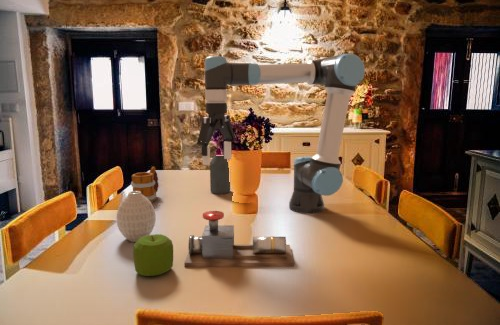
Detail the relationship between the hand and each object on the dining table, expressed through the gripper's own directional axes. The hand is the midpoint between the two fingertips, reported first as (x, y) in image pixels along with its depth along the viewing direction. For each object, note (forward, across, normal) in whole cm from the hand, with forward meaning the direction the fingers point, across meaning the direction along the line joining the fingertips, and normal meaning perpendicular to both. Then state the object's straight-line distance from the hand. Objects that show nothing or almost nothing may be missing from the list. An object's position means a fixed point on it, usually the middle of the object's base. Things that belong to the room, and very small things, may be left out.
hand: (217, 161), depth 132 cm
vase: (+25, +22, -19) cm, 39 cm away
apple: (+25, +37, +3) cm, 45 cm away
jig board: (+25, +17, +19) cm, 36 cm away
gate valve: (+24, +21, +12) cm, 34 cm away
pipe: (+24, +12, +27) cm, 38 cm away
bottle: (+26, -43, -28) cm, 58 cm away
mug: (+25, -14, -51) cm, 59 cm away
